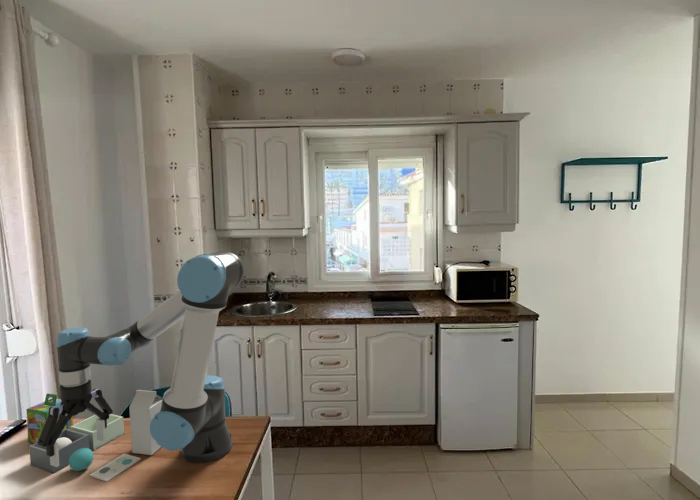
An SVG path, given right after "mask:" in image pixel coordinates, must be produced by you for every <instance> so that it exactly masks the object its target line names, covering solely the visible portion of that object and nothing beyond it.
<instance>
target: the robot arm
mask: <svg viewBox="0 0 700 500" xmlns="http://www.w3.org/2000/svg"><path fill="white" fill-rule="evenodd" d="M244 277H245V266H244V263H243V261H242V259H241V258H240V257H239V256H238V255H237V254H235V253H233V252H231V251H225V250H223V251H222V250H221V251H216V252H212V253H203V254H202V253H201V254H198V255H196V256H194V257H191V258H190V259H188V260H187V261H185V262H184V263H183V264H182V266H181V267H180V269H179V271H178V274H177V278H176V279H177V280H176V281H177V282H176V283H177V288H178V291H176V293H173V295H171V296H170V297H169V298H167V299H166V300H164V301H162V302H161V303H160V304H159V305H157V306H156V307H155V308H153V309H152V310H150V311H149V312H148V313H146V314H145V315H144V316H142V317H141V318H140V319H138V320H137V321H136V322H133V323H132V324H131V325H130V326H128V327H127V328H123V329H121V330H119V331H116V332H114V333H111V334H109V335H107V336H90V333H89V332H90V331H89V329H88V328H86V327H81V326H80V327H71V328H68V329H67V328H66V329H63V330H61V331H60V332H59V333H58V334H57V336H56V338H57V339H56V350H57V360H58V361H57V362H58V379H59V382H58V383H59V384H60V386H59V396H60V397H59V399H61V404H60V406H56V407H50V408H49V413H48V418H47V420H46V423H45V425H44V428H43V430H42V433H41V435H40V438H39V440H38V443H37V444H38V445H40V446H43V447H46V452H47V453H46V454H47V456H50V465H52V466H55V467H58V466H59V449H58V443H56V440H57V439H58V437H59V435H60V434H61V432H62V430H63V429H64V427H65V425H66V424H67V422H68V421H69V420H70V419H71V418H72V419H73V417H75V416H77V415H78V414H80V413H83V412H85V411H86V410H87V411H89V412H90V413H92V414H93V415H96V416H98V417H99V418H100V419H99V418H98V419H96V426H97V440H100V441H105V440H106V439H105V428H107V419H109V414H113V412H114V411H113V409H112V408H111V406H110V405H109V403H108V402H107V400H106V399H105V397H104V396H103V393H102V392H103V391H102V390H101V389H99V388H93V390H92V380H91V378H92V376H91V375H92V372H91V364H92V365H101V366H102V365H103V366H110V367H111V366H121V365H122V364H124V363H126V362H127V359H129V358H130V356H131V353H133V352H136V351H137V350H139V349H141V348H144V347H147V346H148V345H149V344H150V343H152V342H153V341H154V339H155V338H156V337H159V336H160V335H161V334H162V333H164V332H165V331H167V330H168V329H170V328H171V327H173V326H174V325H175V324H177V323H178V322H179V321H181V320H183V322H182V327H181V333H180V336H179V338H180V339H179V343H178V348H177V353H176V360H175V364H174V369H173V375H172V378H171V379H172V380H171V385H170V388H168V389H167V390H166V391H165V392H164V393H163V396H162V398H163V400H162V405H161V410H160V412H158V413H157V414H156V415H155V416H154V417H153V419H152V420H151V423H150V433H151V436H152V438H153V439H154V440H155V441H156V443H157V444H158V445H159V446H161V448H163V449H165V450H168V451H179V450H181V457H182V459H183V460H185V462H188V463H191V464H192V463H193V464H204V463H209V462H213V461H216V460H219V459H221V458H222V457H224V456H226V455H227V454H228V453H229V452H230V451H231V449H232V447H233V437H232V433H230V430H229V427H228V425H227V422H226V399H225V395H226V394H225V388H226V387H225V385H224V384H225V383H224V379H223V378H222V377H220V376H218V375H207V373H208V368H209V363H210V359H211V354H212V348H213V343H214V340H215V335H216V329H217V326H218V325H217V324H218V320H219V314H220V312H221V311H222V310H223V309H226V307H227V304H228V299H229V294H230V291H231V290H234V289H235V288H237V287H238V286H239V285H240V284H241V283H242V281H243V280H244ZM92 398H93V399H94V400H95V402H96V403H97V405H98V406H99V407H100V409H99V408H98V407H96V406H95V405H94V404H93V403H91V400H92ZM61 410H62V412H60V411H61ZM60 413H61V414H60ZM59 414H60V415H59ZM65 414H68V415H67V416H65ZM58 416H59V419H58ZM57 419H58V421H57Z"/></svg>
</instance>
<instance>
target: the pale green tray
mask: <svg viewBox="0 0 700 500" xmlns="http://www.w3.org/2000/svg"><path fill="white" fill-rule="evenodd" d="M98 418H99V417H98V416H96V415H95V414H93V415H92V416H90V417H88V418H86V419H84V420H81V421H79V422H77V423H75V424H73V426H71V427H70V430H73V431H77V432H80V433H84V434H88V435H89V446H90V450H91V451H92V452H93V451H96V450H98V449H99V448H101V447H103V446H105V445H107V444H109V443H110V442H112V441H115V439H118V438H119V437H122V436H123V435H125V425H124V423H125V422H124V416H123V415H122V416H121V415H117V414H113V413H112V414H109V419H107V428H105V439H106V440H105V441H100V440H97V426H96V419H98ZM99 419H100V418H99Z"/></svg>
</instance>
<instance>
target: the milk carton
mask: <svg viewBox="0 0 700 500" xmlns="http://www.w3.org/2000/svg"><path fill="white" fill-rule="evenodd" d="M135 392H136V394H135V395H134V397H133V399H132V401H131V403H130V404H129V408H128V409H129V410H128V411H129V421H130V422H129V425H130V437H131V438H130V440H131V442H130V443H131V452H132V454H137V455H138V454H140V455H146V456H152V455H154V454H155V453H157V451H158V450H159V449H161V448H162V447H161V446H159V445H158V444H157V443H156V441H155V440H154V439H153V438H152V436H151V433H150V423H151V420H152V419H153V417H154V416H155V415H156V414H157V413H158V412H160V410H161V405H162V400H163V396H162V397H161V396H160V395H158V394H157V391H156V390H155V391H154V390H145V389H144V390H143V389H136V391H135Z"/></svg>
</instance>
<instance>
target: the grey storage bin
mask: <svg viewBox="0 0 700 500" xmlns="http://www.w3.org/2000/svg"><path fill="white" fill-rule="evenodd" d="M62 437H65V438H68V439H70V440H71V441H72V443H70V444H68V445H66V446H64V447H62V448H60V449H59V466H58V467H55V466H52V465H50V456H47V454H46V453H47V452H46V447H43V446H40V445H38V444H37V443H38V442H37V443H32V444H31V445H29V446H28V447H29V449H28V450H29V458H30V459H29V460H30V466H32V467H35V468H37V469H40V470H43V471H45V472H48V473H49V472H50V473H52V474H55V473H58V472H59V471H61V470H62V469H65V468H66V467H68V466H70V465H69V459H70V456H71V455H72V454H73V453H74V452H75V451H76V450H78V449H80V448H88V449H90V446H89V435H88V434H84V433H80V432H77V431H73V430H70V429H64V430H62V432H61V434H60V435H59V437H58V438H62Z"/></svg>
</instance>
